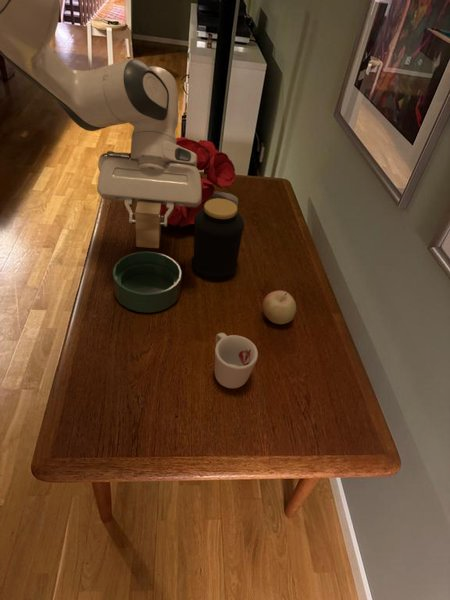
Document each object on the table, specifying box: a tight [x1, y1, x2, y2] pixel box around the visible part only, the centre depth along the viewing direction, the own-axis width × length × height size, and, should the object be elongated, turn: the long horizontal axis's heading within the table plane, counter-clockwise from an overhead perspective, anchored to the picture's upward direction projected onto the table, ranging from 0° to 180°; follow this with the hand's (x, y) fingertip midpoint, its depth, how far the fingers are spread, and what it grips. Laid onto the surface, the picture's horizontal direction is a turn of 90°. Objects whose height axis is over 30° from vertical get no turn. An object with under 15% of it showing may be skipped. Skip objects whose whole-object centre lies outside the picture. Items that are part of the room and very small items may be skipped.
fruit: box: [261, 289, 297, 325], centre depth 90 cm, size 8×7×8 cm
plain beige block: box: [134, 200, 162, 249], centre depth 80 cm, size 4×4×8 cm
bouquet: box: [161, 136, 239, 228], centre depth 113 cm, size 22×24×30 cm
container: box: [191, 198, 245, 279], centre depth 97 cm, size 12×12×18 cm
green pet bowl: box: [112, 251, 183, 314], centre depth 91 cm, size 15×15×6 cm
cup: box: [214, 332, 259, 389], centre depth 77 cm, size 11×8×8 cm
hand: (148, 224), depth 79 cm, fingers closed on plain beige block, 4 cm apart
